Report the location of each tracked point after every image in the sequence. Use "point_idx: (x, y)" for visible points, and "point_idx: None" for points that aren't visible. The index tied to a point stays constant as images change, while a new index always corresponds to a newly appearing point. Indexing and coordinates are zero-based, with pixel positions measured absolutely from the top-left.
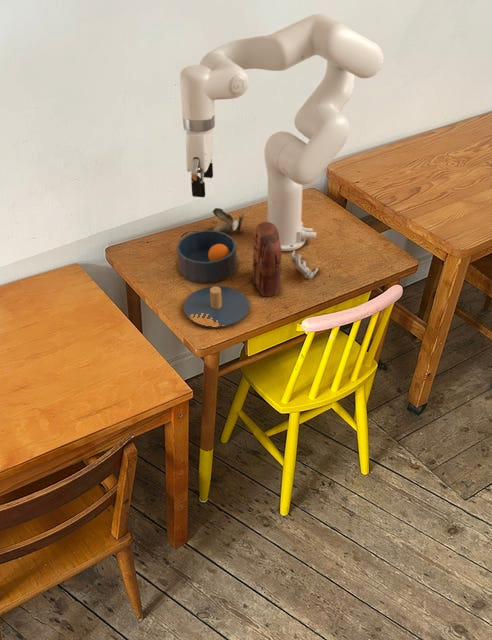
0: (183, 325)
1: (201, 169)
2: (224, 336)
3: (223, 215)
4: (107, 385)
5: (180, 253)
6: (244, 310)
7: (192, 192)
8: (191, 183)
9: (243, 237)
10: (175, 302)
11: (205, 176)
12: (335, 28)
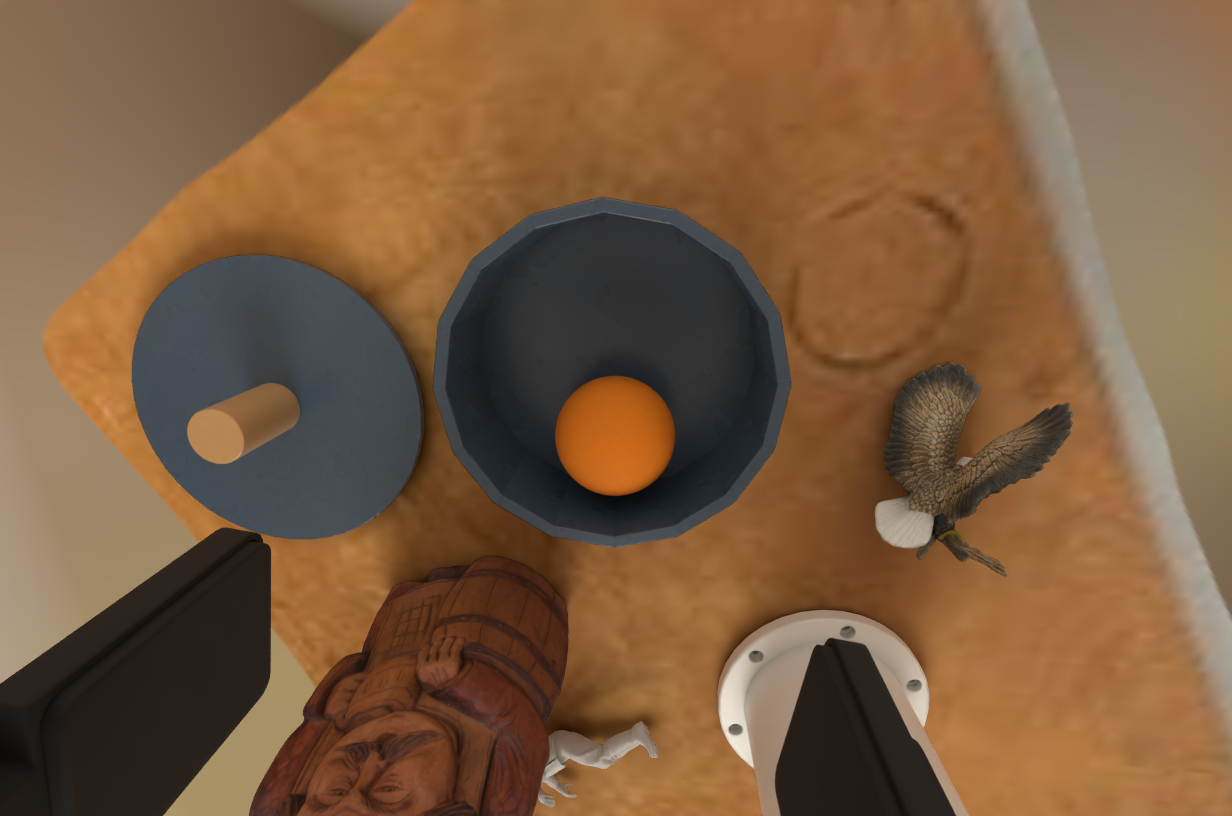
0: (151, 256)
1: (854, 763)
2: (117, 434)
3: (988, 473)
4: None
5: (528, 227)
6: (260, 522)
7: (182, 561)
8: (23, 671)
9: (861, 527)
10: (311, 205)
11: (799, 712)
12: None
